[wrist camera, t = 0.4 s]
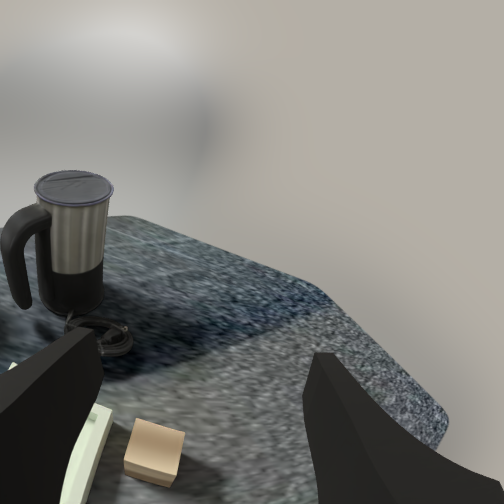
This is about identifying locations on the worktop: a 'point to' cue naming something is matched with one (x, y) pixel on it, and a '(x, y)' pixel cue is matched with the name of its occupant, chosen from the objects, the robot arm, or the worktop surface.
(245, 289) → the worktop surface
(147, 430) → the maple block
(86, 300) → the milk frother
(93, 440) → the tray
